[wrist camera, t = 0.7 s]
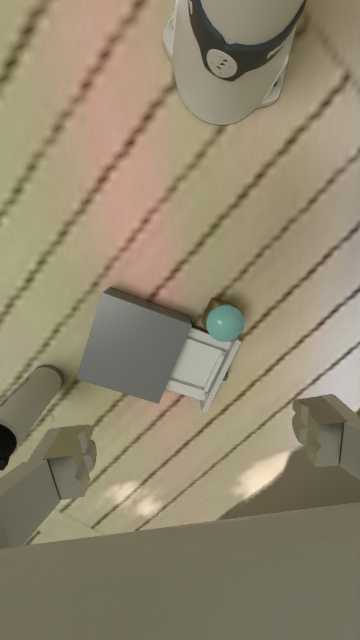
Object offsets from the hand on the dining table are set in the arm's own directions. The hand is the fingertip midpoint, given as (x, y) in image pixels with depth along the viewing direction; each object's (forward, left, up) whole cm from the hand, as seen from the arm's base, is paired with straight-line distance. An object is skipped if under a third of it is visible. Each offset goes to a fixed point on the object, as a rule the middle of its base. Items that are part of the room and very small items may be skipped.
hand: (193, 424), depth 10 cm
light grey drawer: (+14, +8, -38) cm, 41 cm away
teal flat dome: (+3, +10, -33) cm, 35 cm away
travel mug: (+28, -17, -39) cm, 50 cm away
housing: (+14, -3, -38) cm, 41 cm away
